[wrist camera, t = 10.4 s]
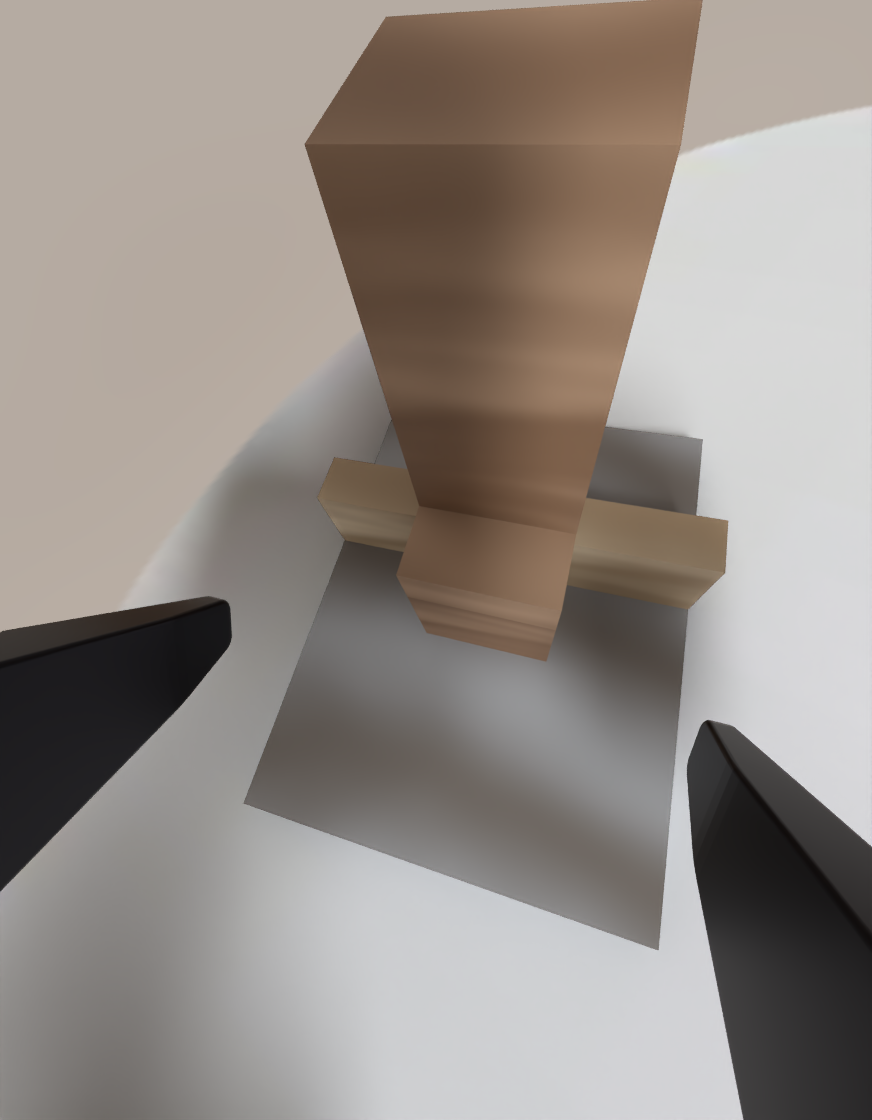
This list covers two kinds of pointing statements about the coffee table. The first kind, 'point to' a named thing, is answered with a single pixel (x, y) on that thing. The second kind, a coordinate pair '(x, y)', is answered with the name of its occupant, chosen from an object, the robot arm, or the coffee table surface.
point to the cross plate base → (506, 698)
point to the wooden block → (503, 274)
